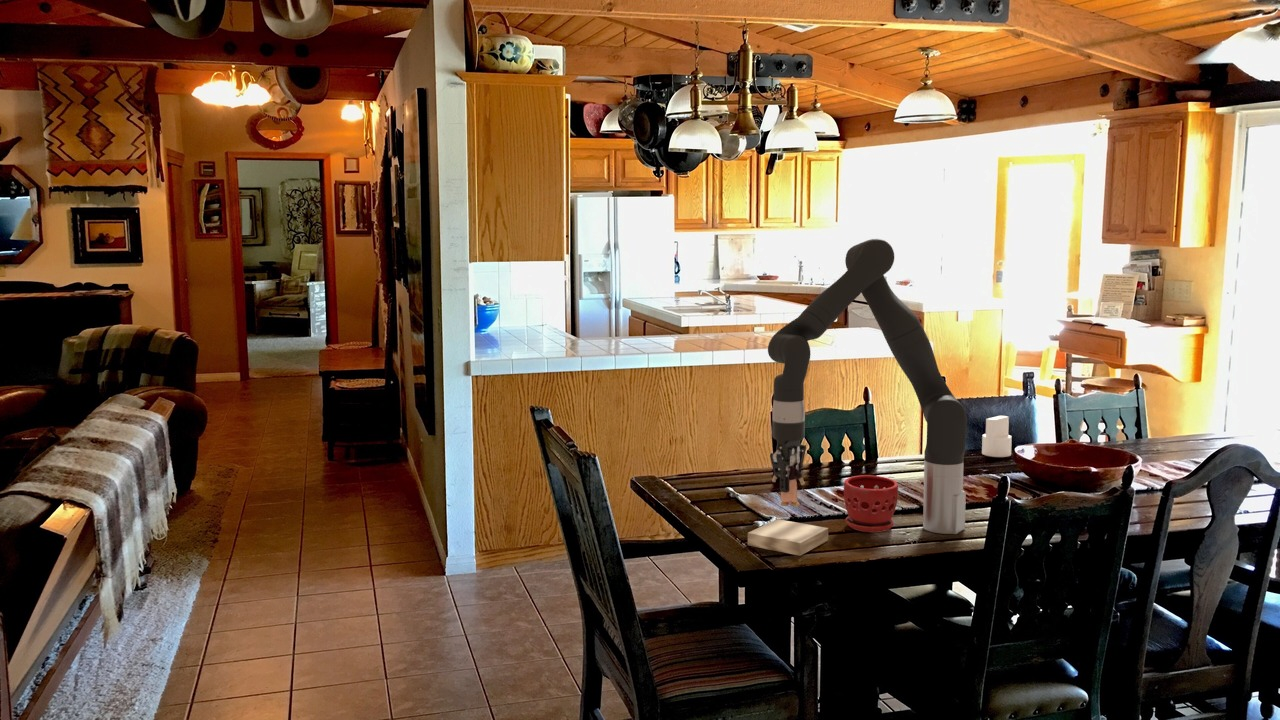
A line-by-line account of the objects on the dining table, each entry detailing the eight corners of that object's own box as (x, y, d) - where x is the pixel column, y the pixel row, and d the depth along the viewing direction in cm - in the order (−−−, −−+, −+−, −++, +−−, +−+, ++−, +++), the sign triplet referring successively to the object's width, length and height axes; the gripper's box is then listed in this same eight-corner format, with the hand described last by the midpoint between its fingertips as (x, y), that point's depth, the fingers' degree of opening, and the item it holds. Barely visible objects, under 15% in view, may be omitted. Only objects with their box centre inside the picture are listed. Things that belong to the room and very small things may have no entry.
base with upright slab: (991, 449, 340) (992, 414, 338) (1016, 454, 333) (1017, 417, 331) (976, 453, 334) (977, 417, 332) (1001, 458, 327) (1002, 421, 326)
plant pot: (833, 528, 255) (833, 481, 253) (862, 517, 264) (863, 472, 262) (878, 539, 245) (879, 490, 244) (907, 527, 255) (908, 480, 253)
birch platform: (828, 540, 245) (828, 528, 245) (800, 555, 234) (800, 543, 234) (777, 530, 254) (777, 519, 253) (747, 545, 243) (747, 532, 242)
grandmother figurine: (803, 503, 244) (804, 451, 243) (804, 507, 240) (805, 454, 239) (771, 502, 245) (772, 450, 244) (771, 506, 241) (772, 453, 240)
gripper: (787, 425, 232) (787, 499, 235) (816, 415, 243) (816, 486, 246) (759, 421, 237) (759, 494, 239) (789, 412, 248) (788, 482, 250)
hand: (788, 489), depth 242 cm, fingers closed on grandmother figurine, 3 cm apart
